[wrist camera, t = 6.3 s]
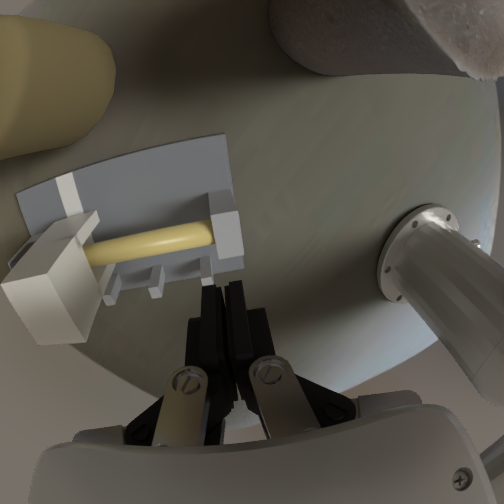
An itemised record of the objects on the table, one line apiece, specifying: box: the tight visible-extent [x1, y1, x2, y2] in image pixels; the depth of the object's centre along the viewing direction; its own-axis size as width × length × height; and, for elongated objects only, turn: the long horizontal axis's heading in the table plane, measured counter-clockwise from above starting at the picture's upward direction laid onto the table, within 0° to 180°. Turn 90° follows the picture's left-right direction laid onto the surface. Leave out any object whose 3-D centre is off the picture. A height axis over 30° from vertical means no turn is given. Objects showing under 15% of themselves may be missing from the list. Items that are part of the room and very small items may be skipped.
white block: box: [0, 210, 116, 345], centre depth 15 cm, size 4×5×8 cm
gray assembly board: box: [8, 133, 244, 306], centre depth 18 cm, size 18×11×6 cm, turn 96°
